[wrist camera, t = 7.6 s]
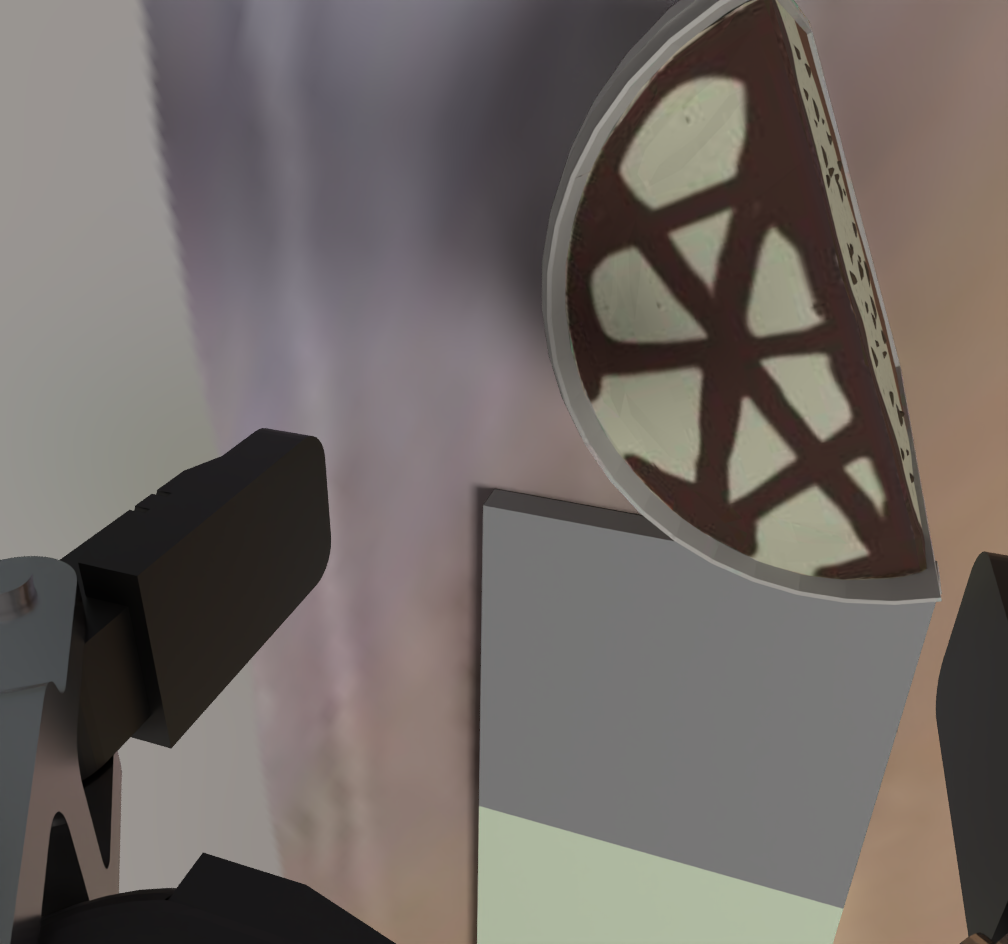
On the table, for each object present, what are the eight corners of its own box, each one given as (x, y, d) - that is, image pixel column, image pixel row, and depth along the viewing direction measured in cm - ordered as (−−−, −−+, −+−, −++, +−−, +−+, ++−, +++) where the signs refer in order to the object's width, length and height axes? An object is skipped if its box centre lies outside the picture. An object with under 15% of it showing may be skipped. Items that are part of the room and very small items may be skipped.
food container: (561, 65, 24) (411, 100, 16) (793, -42, 22) (760, -68, 13) (702, 466, 28) (642, 665, 20) (914, 418, 25) (948, 624, 17)
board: (935, 569, 27) (939, 590, 26) (780, 1092, 40) (779, 1120, 39) (494, 488, 31) (483, 505, 30) (484, 991, 44) (476, 1014, 43)
